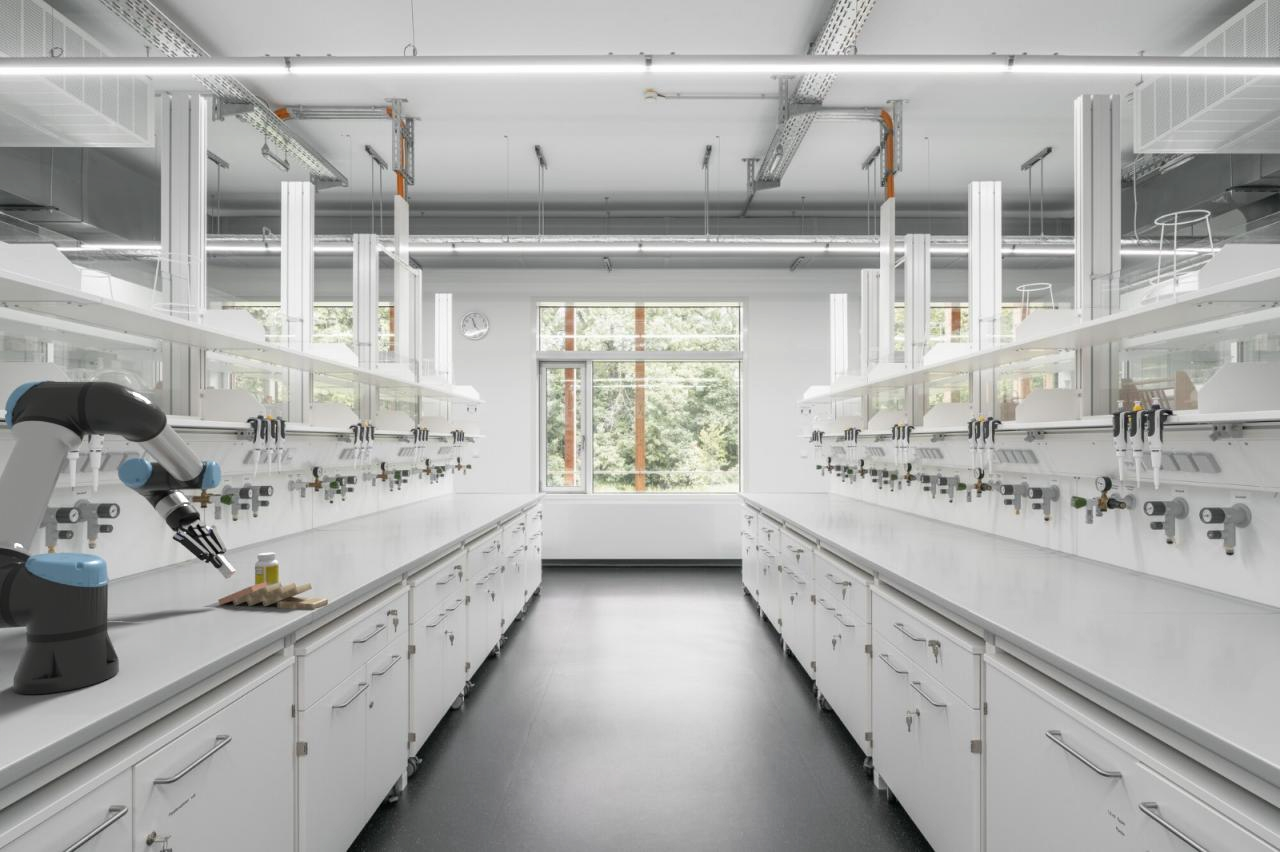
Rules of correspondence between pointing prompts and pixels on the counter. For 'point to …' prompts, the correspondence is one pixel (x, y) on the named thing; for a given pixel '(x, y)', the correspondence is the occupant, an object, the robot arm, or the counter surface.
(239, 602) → the domino
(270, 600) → the domino
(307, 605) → the domino
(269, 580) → the pill bottle
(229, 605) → the mat
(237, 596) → the domino
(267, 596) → the domino
